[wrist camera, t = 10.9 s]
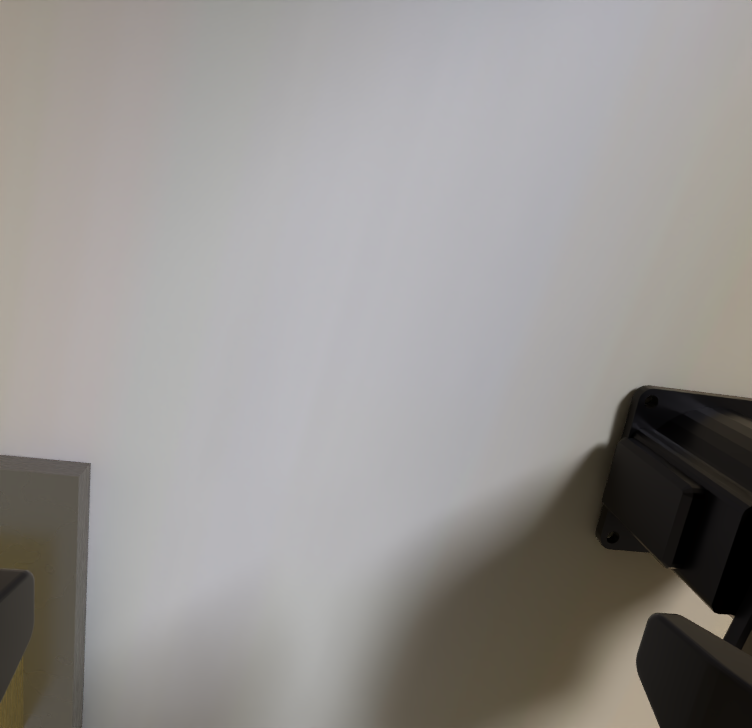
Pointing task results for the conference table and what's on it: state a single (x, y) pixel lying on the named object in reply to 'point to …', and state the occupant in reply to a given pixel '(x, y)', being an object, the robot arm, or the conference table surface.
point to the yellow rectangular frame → (13, 701)
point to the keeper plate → (49, 579)
